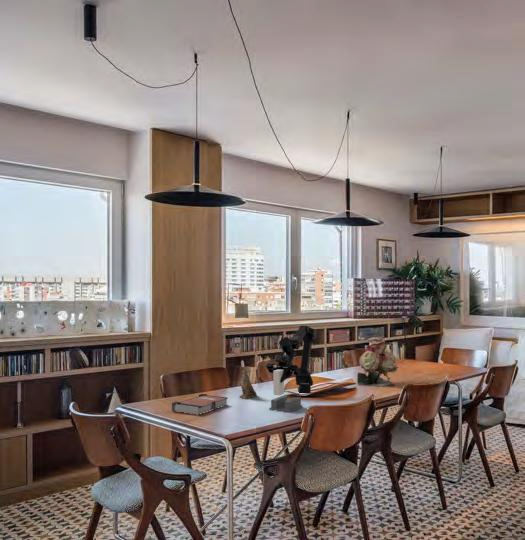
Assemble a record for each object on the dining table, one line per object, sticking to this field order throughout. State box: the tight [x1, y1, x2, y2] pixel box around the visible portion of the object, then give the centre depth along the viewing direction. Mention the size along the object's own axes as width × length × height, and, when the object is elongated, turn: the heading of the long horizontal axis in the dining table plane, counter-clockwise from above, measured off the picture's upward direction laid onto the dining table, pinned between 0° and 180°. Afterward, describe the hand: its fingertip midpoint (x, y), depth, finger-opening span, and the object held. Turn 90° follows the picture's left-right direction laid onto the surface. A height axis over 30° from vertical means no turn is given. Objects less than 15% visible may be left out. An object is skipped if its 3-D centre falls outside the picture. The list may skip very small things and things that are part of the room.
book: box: [171, 393, 229, 414], centre depth 296 cm, size 26×18×5 cm
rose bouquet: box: [356, 336, 399, 387], centre depth 364 cm, size 26×29×30 cm
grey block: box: [272, 369, 285, 396], centre depth 296 cm, size 5×4×12 cm
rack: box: [268, 395, 303, 413], centre depth 294 cm, size 14×12×5 cm
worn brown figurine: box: [239, 369, 258, 400], centre depth 322 cm, size 12×6×18 cm, turn 142°
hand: (277, 381), depth 295 cm, fingers closed on grey block, 3 cm apart
